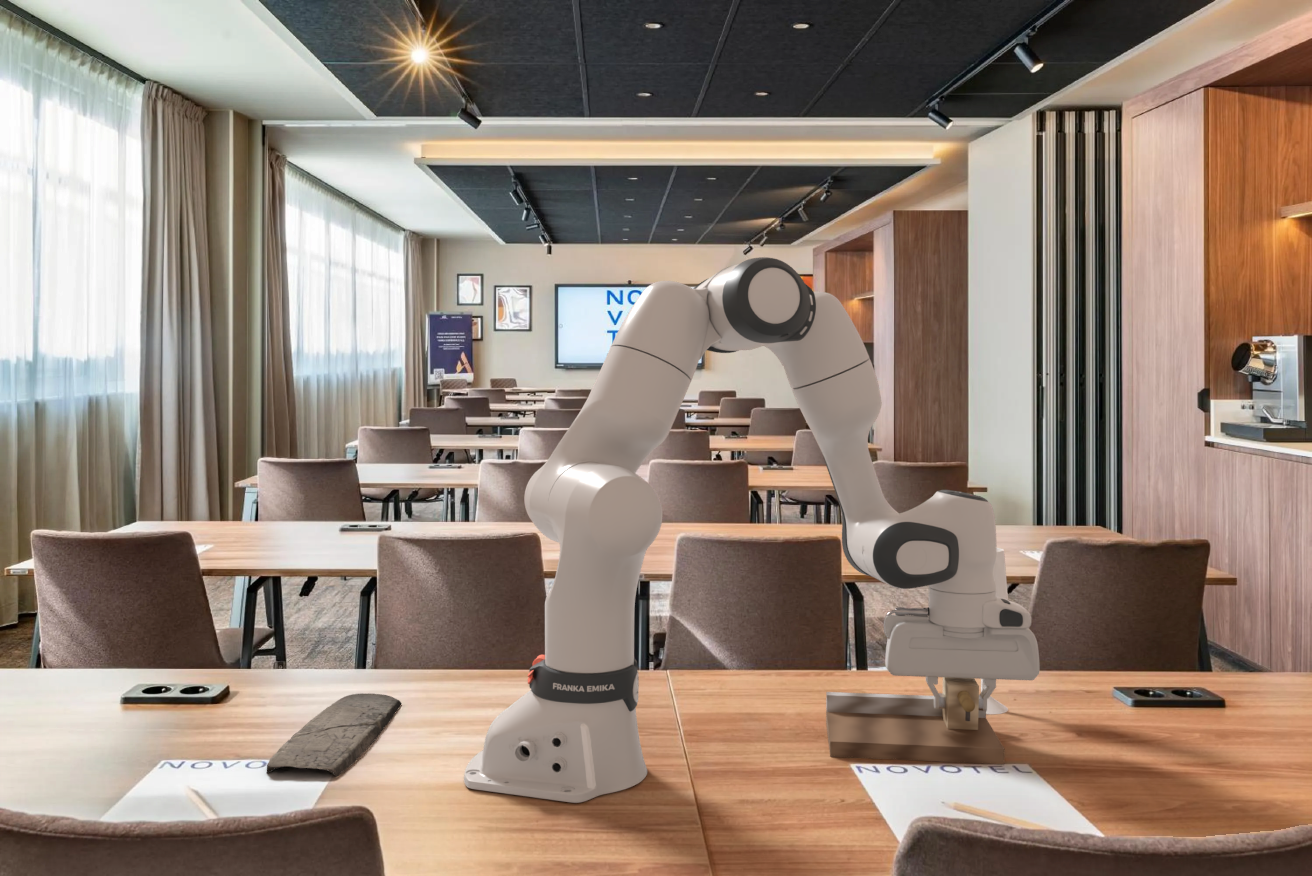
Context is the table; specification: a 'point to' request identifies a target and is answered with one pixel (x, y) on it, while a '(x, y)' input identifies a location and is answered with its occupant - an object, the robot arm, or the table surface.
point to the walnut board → (904, 730)
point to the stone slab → (337, 734)
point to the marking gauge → (961, 703)
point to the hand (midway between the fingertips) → (960, 708)
